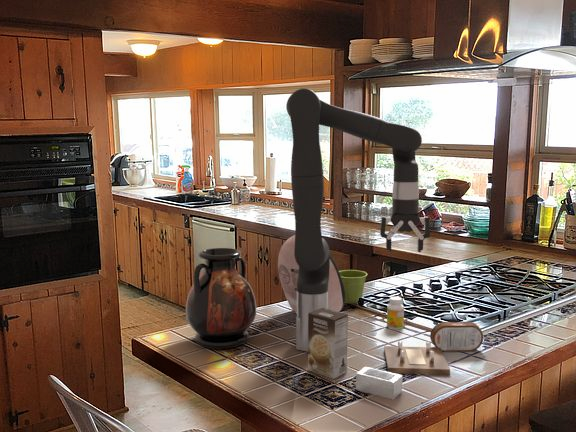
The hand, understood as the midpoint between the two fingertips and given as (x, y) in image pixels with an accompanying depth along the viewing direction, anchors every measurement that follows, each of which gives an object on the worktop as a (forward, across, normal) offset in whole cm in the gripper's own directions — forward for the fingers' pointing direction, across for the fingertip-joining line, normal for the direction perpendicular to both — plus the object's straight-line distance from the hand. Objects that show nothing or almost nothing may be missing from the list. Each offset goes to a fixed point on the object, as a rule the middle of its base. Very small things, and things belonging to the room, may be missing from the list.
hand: (404, 251), depth 173 cm
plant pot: (+28, -15, +42) cm, 53 cm away
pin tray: (+28, +2, -15) cm, 32 cm away
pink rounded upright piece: (+28, -29, +23) cm, 47 cm away
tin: (+28, +15, -5) cm, 33 cm away
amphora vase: (+28, -55, -2) cm, 62 cm away
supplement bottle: (+28, -1, +15) cm, 32 cm away
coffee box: (+28, -22, -23) cm, 43 cm away
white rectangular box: (+28, -9, -34) cm, 45 cm away
